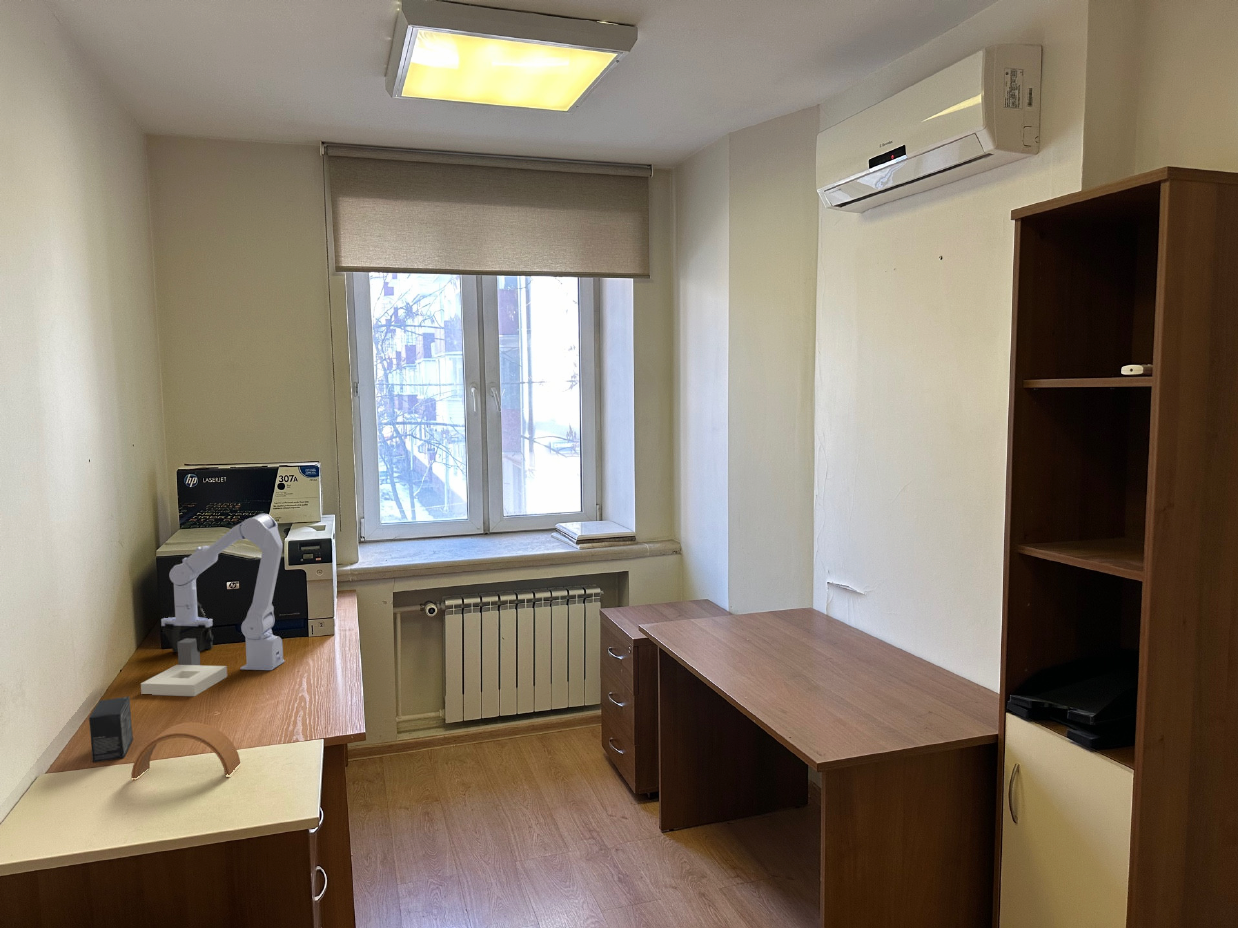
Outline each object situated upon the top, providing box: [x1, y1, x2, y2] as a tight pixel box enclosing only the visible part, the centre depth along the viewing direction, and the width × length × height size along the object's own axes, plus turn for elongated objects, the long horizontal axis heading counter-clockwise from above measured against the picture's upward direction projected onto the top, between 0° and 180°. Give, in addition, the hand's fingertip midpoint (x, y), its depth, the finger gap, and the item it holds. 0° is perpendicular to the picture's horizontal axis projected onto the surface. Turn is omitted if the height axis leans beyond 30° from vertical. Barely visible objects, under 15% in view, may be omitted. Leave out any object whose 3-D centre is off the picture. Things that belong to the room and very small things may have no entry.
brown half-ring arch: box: [130, 722, 241, 779], centre depth 176 cm, size 6×20×10 cm, turn 92°
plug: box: [177, 638, 201, 665], centre depth 243 cm, size 4×4×8 cm
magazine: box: [163, 600, 214, 654], centre depth 259 cm, size 4×13×15 cm, turn 109°
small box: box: [88, 696, 134, 763], centre depth 187 cm, size 11×6×10 cm, turn 21°
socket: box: [140, 664, 228, 697], centre depth 229 cm, size 15×15×3 cm
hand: (188, 650), depth 243 cm, fingers open, 7 cm apart
